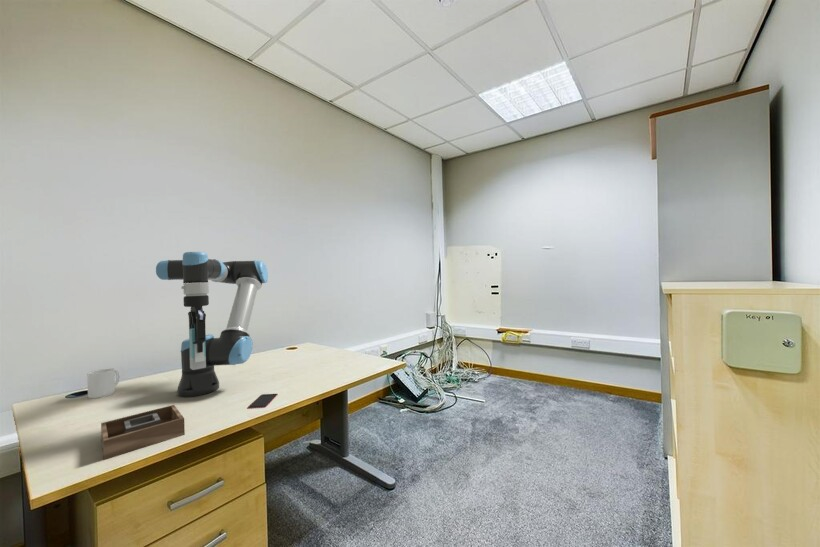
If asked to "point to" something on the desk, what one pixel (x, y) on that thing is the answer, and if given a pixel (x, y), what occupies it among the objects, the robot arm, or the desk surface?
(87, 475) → the desk surface
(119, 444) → the connector box
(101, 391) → the cup
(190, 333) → the connector plug
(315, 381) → the desk surface
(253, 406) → the smartphone
